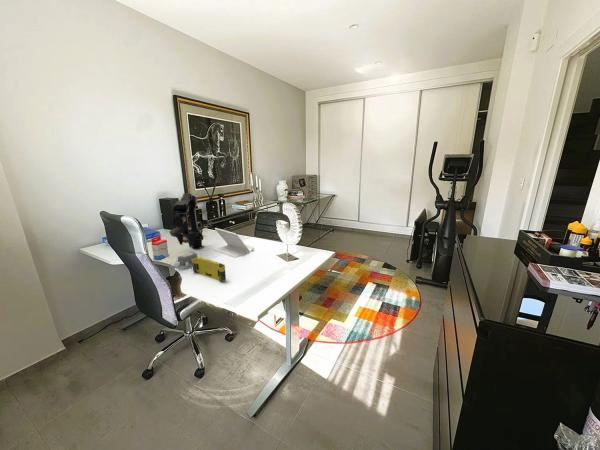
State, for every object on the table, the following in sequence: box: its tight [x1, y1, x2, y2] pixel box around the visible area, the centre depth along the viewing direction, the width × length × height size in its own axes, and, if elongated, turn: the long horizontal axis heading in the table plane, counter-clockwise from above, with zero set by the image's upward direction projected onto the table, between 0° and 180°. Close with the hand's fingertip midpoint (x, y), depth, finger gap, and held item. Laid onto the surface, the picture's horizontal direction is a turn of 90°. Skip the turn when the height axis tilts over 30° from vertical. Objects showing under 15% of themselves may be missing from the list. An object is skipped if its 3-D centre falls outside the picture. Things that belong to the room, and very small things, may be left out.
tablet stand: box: [214, 227, 255, 258], centre depth 179 cm, size 18×25×17 cm
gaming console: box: [192, 255, 227, 282], centre depth 138 cm, size 26×4×10 cm, turn 60°
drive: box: [177, 251, 198, 266], centre depth 156 cm, size 10×6×5 cm, turn 150°
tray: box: [171, 254, 199, 271], centre depth 156 cm, size 16×11×4 cm
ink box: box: [150, 235, 170, 261], centre depth 166 cm, size 8×5×15 cm, turn 168°
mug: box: [182, 220, 204, 244], centre depth 206 cm, size 20×14×15 cm
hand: (185, 246), depth 155 cm, fingers open, 9 cm apart
